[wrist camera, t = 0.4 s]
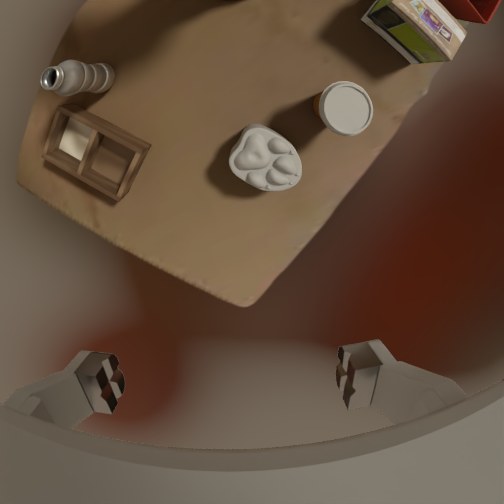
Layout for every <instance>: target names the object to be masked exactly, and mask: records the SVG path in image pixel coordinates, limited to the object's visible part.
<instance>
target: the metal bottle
mask: <svg viewBox="0 0 504 504" xmlns="http://www.w3.org/2000/svg"><path fill="white" fill-rule="evenodd" d="M114 80H115V72H114V69H113V68H112V67H111V66H110V65H108V64H107V63H95V64H86V63H82V62H80V61H77V60H71V59H70V60H66V61H64V62H62V63H60V64H59V65H58V66H54V67H48V68H46V69H45V70H44V72H43V73H42V76H41V86H42V87H43V88H44V89H46V90H53V91H54V92H55V93H56V94H57V95H60V96H63V97H66V96H71V95H73V94H76V93H79V92H84V91H86V92H91V93H102V92H104V91H106V90H108V89H109V88H110V87H111V86H112V84H113V82H114Z"/></svg>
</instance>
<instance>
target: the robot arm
mask: <svg viewBox="0 0 504 504" xmlns="http://www.w3.org/2000/svg"><path fill="white" fill-rule="evenodd" d="M338 358H339V361H340V363H339V364H338V365H337V366H336V382H337V386H338V388H339V390H340V391H342V392H343V400H344V403H345V405H346V407H347V410H353V409H358V408H363V407H368V406H370V407H371V408H372V409H374V410H375V411H377V412H378V413H380V414H381V415H383V416H384V417H386V418H387V419H389V420H390V421H392V422H393V423H395V424H396V425H393V426H389V427H386V428H382V429H379V430H375V431H371V432H367V433H363V434H358V435H354V436H350V437H345V438H340V439H334V440H329V441H323V442H317V443H310V444H302V445H294V446H285V447H274V448H260V449H259V448H258V449H225V450H224V449H190V448H176V447H165V446H155V445H148V444H141V443H134V442H128V441H122V440H116V439H112V438H106V437H102V436H98V435H93V434H89V433H85V432H81V431H77V430H73V429H72V428H73V427H74V426H76V425H77V424H78V423H80V422H81V421H83V420H84V419H85V418H87V417H88V416H89V415H91V414H92V413H93V411H94V412H101V413H107V414H113V412H114V410H115V408H116V406H117V404H118V402H117V398H119V397H120V396H122V394H123V392H124V389H125V379H124V376H123V373H122V372H121V371H120V370H119V369H118V366H119V361H118V358H117V356H115V355H114V354H109V353H100V352H92V351H80V352H79V353H78V354H77V355H76V357H75V358H74V359H73V360H72V361H71V362H70V363H69V365H68V366H67V367H66V368H65V369H64V370H63V372H62V371H59V372H56V373H54V374H52V375H49V376H47V377H45V378H42V379H40V380H38V381H35V382H33V383H31V384H28V385H26V386H24V387H21V388H19V389H16V390H15V391H14V392H13V394H12V395H11V396H10V397H9V398H8V399H7V400H6V401H5V402H4V404H2V403H0V504H504V379H502V380H501V381H499V382H497V383H495V384H493V385H491V386H489V387H488V388H485V389H484V390H482V391H480V392H478V393H475V394H474V395H471V396H469V397H468V396H467V395H466V394H465V393H464V392H463V391H462V389H461V388H460V387H459V386H458V385H457V384H456V383H455V382H454V381H453V380H451V379H448V378H445V377H443V376H440V375H437V374H434V373H431V372H429V371H426V370H423V369H420V368H418V367H415V366H412V365H410V364H407V363H404V362H401V361H400V362H397V361H396V360H395V358H394V357H393V356H392V355H391V353H390V352H389V351H388V350H387V348H386V347H385V346H384V345H383V343H382V342H381V341H380V340H378V339H377V340H372V341H367V342H363V343H358V344H352V345H346V346H340V347H339V349H338Z"/></svg>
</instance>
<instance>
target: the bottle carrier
mask: <svg viewBox="0 0 504 504" xmlns="http://www.w3.org/2000/svg"><path fill="white" fill-rule="evenodd" d="M150 147H151V144H149V143H147V142H145V141H144V140H142V139H140V138H138V137H136V136H134V135H132V134H131V133H129V132H127V131H125V130H123V129H121V128H119V127H117V126H115V125H114V124H112V123H110V122H108V121H106V120H104V119H102V118H100V117H98V116H96V115H94V114H92V113H90V112H88V111H86V110H84V109H82V108H80V107H78V106H76V105H74V104H68V105H62V106H59V107H58V109H57V112H56V114H55V117H54V120H53V123H52V126H51V128H50V131H49V134H48V137H47V140H46V144H45V147H44V150H43V154H42V158H44V159H45V160H47V161H49V162H50V163H52V164H54V165H56V166H57V167H59V168H61V169H62V170H64V171H66V172H68V173H69V174H71V175H73V176H74V177H76V178H78V179H80V180H81V181H83V182H85V183H87V184H88V185H90V186H92V187H94V188H95V189H97V190H99V191H101V192H102V193H104V194H106V195H108V196H109V197H111V198H113V199H115V200H116V201H118V202H119V201H120V200H121V199H122V198H123V197H124V196H125V195H126V194H127V193H128V192H129V190H130V188H131V185H132V183H133V181H134V179H135V177H136V175H137V173H138V171H139V169H140V167H141V165H142V163H143V161H144V159H145V157H146V155H147V153H148V151H149V149H150Z"/></svg>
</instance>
